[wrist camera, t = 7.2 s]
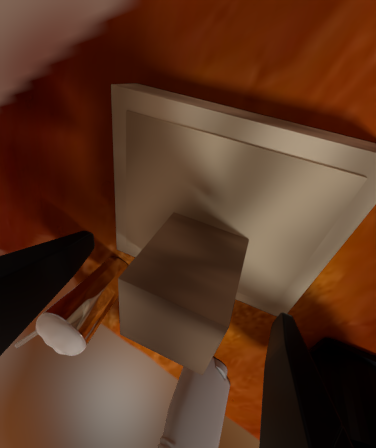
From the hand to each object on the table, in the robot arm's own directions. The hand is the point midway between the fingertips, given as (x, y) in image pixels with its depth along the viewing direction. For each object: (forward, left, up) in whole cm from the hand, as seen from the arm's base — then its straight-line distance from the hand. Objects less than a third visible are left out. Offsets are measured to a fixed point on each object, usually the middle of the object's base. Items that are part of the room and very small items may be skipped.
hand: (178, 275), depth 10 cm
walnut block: (0, +3, -5) cm, 6 cm away
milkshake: (+9, +12, -8) cm, 17 cm away
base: (0, 0, -8) cm, 8 cm away
